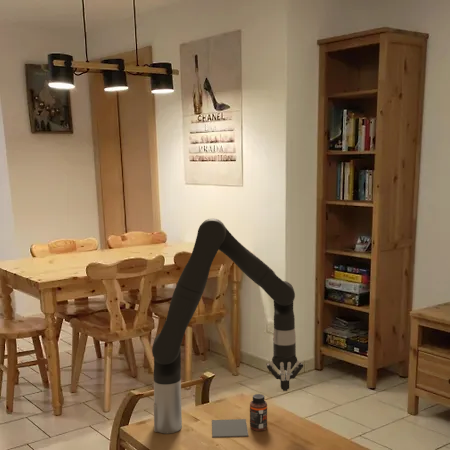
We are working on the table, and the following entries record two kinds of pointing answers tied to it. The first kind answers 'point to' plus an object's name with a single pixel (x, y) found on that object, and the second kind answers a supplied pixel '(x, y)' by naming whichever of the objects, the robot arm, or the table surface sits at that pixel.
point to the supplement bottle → (258, 413)
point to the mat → (229, 428)
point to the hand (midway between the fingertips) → (285, 390)
